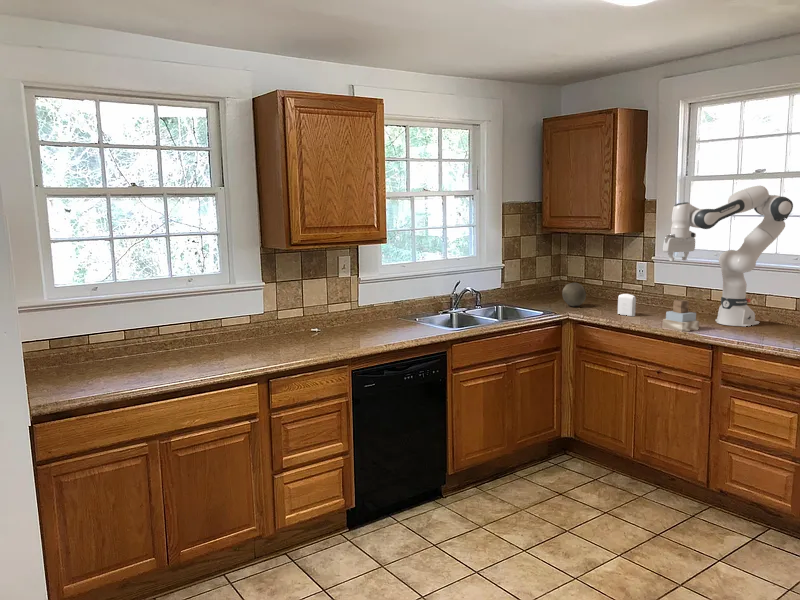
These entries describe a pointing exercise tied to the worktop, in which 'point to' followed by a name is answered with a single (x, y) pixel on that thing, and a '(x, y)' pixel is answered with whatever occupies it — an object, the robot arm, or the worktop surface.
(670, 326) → the ash base slab
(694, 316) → the slate top block
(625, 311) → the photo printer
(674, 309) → the walnut block
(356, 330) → the worktop surface
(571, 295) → the grey ball
